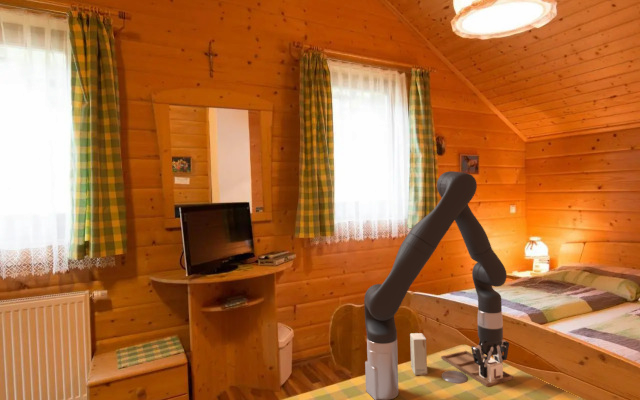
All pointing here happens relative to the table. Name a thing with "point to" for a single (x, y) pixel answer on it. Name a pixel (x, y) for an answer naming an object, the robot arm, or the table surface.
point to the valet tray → (471, 367)
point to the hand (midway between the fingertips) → (491, 374)
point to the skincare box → (418, 353)
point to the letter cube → (493, 370)
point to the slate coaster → (454, 376)
